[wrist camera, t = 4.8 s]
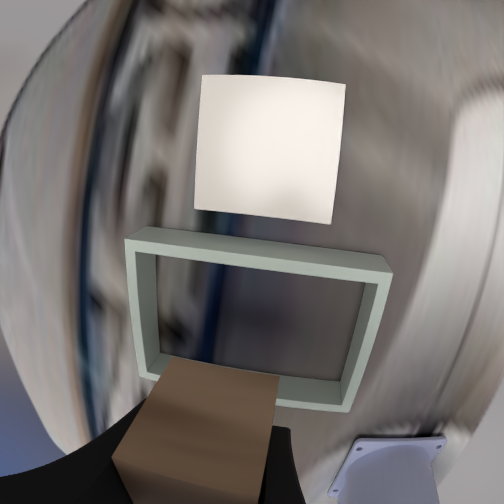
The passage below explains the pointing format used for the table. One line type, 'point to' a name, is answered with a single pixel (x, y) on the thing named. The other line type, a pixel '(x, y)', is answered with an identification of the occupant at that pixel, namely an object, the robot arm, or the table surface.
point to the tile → (269, 146)
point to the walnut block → (199, 436)
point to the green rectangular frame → (269, 258)
